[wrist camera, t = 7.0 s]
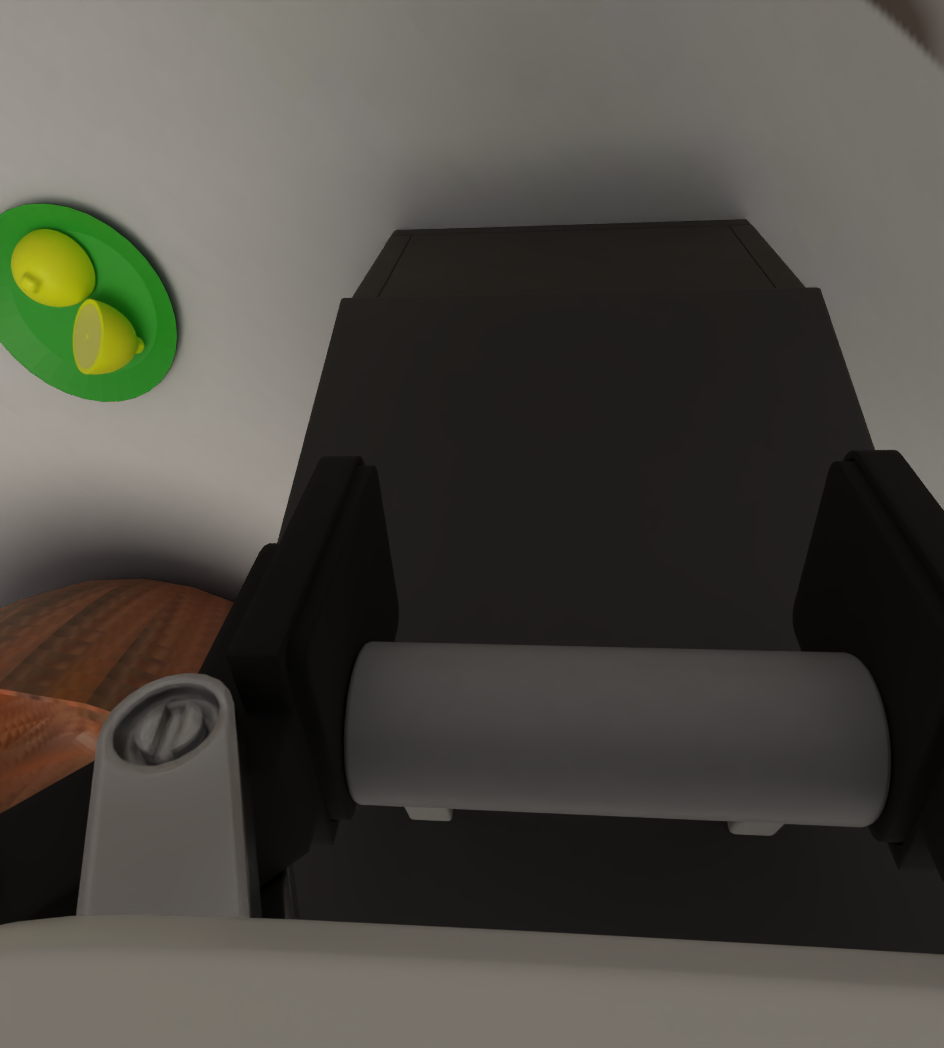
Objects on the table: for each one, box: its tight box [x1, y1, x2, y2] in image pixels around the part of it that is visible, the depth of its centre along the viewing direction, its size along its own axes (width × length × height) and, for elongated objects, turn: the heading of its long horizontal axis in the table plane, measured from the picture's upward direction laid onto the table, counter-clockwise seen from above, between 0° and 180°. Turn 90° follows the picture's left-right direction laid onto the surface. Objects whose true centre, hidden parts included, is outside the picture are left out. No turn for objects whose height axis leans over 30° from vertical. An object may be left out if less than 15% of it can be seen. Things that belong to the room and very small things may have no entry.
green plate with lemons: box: [0, 204, 177, 402], centre depth 29 cm, size 8×8×3 cm
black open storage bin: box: [352, 220, 806, 298], centre depth 28 cm, size 15×13×8 cm
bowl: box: [0, 579, 234, 813], centre depth 39 cm, size 25×25×11 cm
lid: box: [277, 287, 944, 955], centre depth 14 cm, size 15×13×5 cm
